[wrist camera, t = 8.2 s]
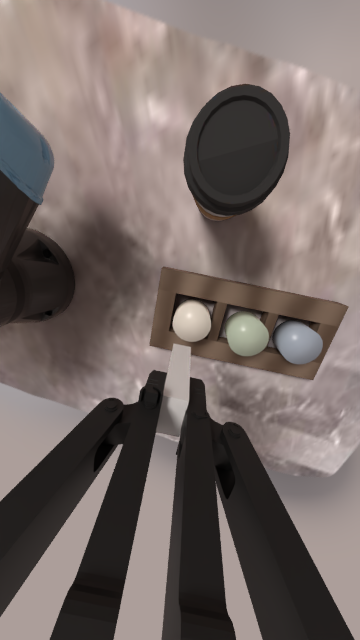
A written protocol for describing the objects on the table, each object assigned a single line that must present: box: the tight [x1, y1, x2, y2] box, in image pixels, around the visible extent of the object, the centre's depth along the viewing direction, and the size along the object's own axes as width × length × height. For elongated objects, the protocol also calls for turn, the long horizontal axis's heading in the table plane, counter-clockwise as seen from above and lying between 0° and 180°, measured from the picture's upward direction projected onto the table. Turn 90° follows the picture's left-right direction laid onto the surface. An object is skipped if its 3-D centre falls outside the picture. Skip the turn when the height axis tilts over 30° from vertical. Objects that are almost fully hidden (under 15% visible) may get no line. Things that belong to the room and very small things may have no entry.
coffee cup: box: [184, 84, 290, 221], centre depth 22 cm, size 8×8×15 cm
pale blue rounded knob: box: [272, 320, 323, 364], centre depth 31 cm, size 6×6×4 cm
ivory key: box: [173, 299, 211, 342], centre depth 32 cm, size 6×6×4 cm
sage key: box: [225, 311, 269, 356], centre depth 31 cm, size 6×6×4 cm
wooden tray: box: [149, 267, 348, 380], centre depth 34 cm, size 28×13×2 cm, turn 79°
